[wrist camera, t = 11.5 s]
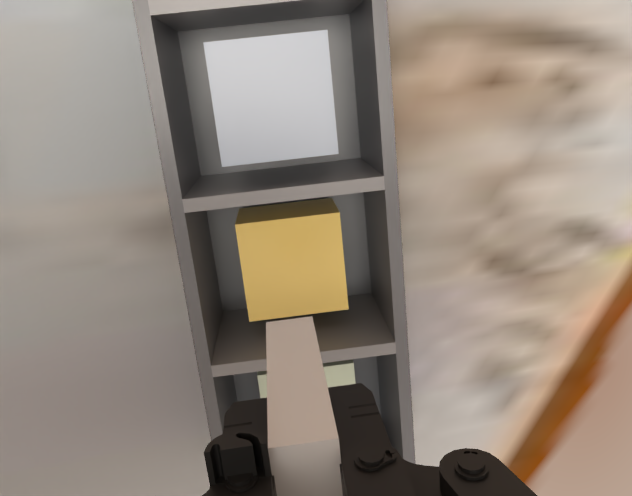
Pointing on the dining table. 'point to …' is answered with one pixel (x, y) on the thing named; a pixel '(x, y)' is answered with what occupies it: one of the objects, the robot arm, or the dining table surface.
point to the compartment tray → (283, 195)
